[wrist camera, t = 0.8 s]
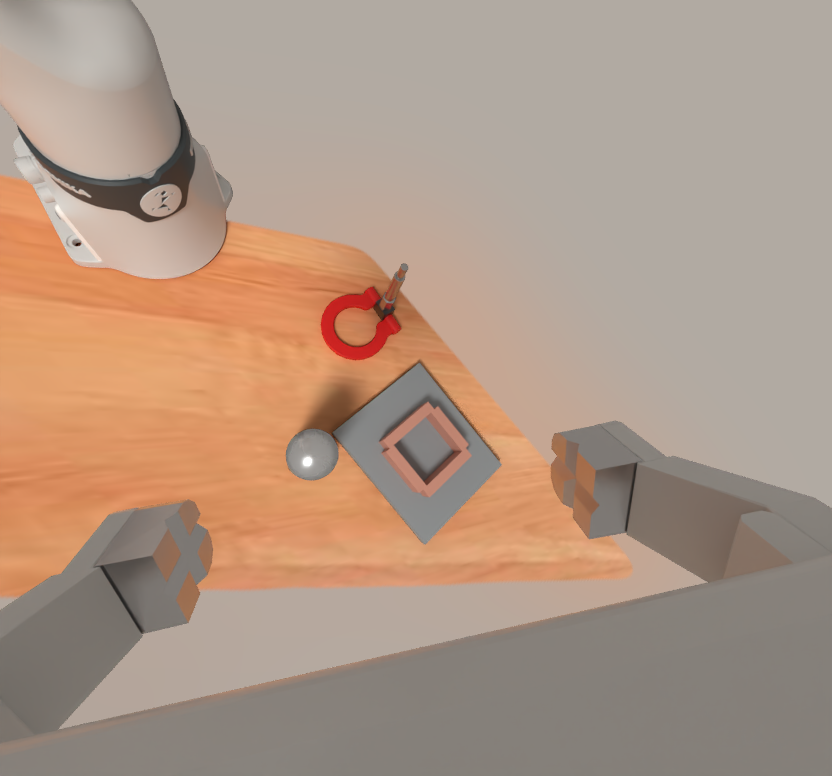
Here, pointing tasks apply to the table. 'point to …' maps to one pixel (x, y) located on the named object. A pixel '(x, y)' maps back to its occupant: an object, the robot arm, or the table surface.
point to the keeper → (418, 452)
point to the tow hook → (364, 302)
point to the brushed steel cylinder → (312, 454)
